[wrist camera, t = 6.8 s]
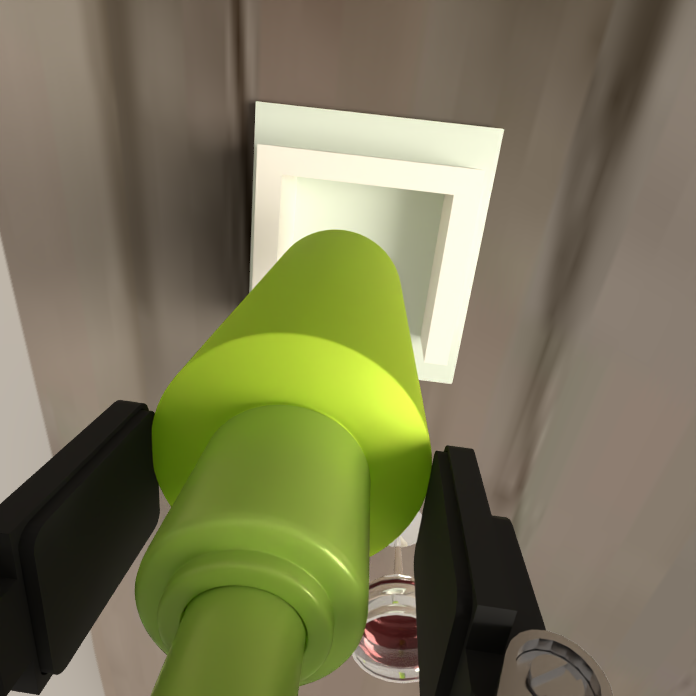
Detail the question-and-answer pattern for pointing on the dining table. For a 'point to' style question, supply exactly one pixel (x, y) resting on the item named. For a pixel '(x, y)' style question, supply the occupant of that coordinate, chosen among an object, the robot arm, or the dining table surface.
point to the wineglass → (392, 621)
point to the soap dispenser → (284, 475)
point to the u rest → (381, 205)
